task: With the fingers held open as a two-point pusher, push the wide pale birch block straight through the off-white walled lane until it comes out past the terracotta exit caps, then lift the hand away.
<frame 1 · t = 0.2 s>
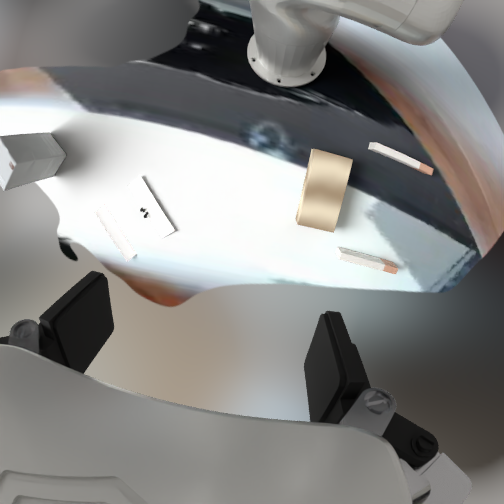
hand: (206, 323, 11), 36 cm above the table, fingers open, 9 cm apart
walled lane: (383, 208, 44), on the table
skincare box: (53, 153, 43), on the table
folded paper: (136, 217, 48), on the table
birch block: (320, 188, 43), on the table
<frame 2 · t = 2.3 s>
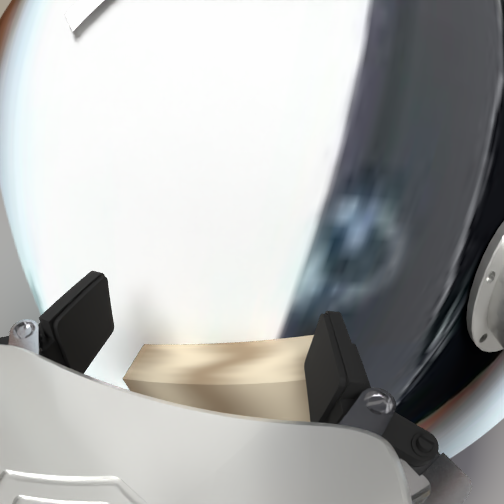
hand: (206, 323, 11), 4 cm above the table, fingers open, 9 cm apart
birch block: (232, 371, 18), on the table
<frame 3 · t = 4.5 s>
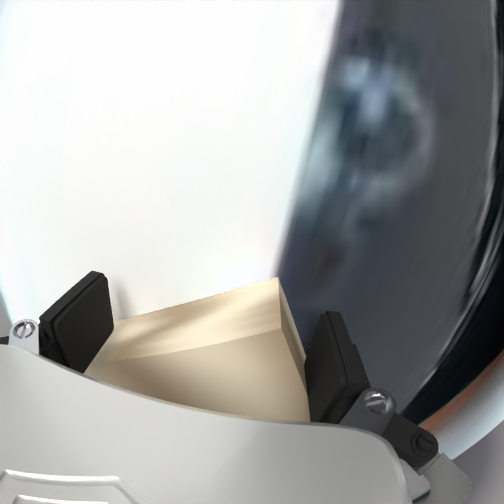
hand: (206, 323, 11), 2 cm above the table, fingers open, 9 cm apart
birch block: (188, 350, 14), on the table
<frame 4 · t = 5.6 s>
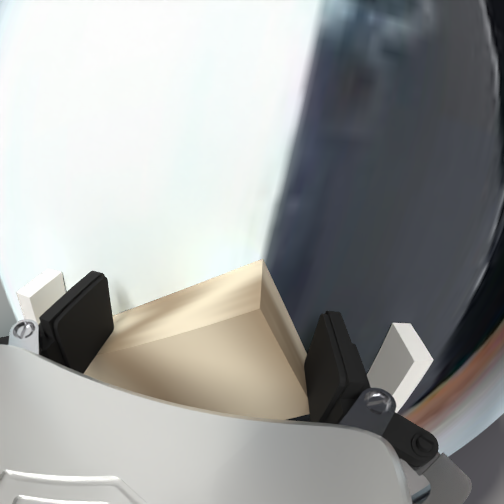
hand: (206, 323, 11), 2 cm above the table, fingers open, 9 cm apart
walled lane: (210, 385, 15), on the table
birch block: (182, 343, 14), on the table
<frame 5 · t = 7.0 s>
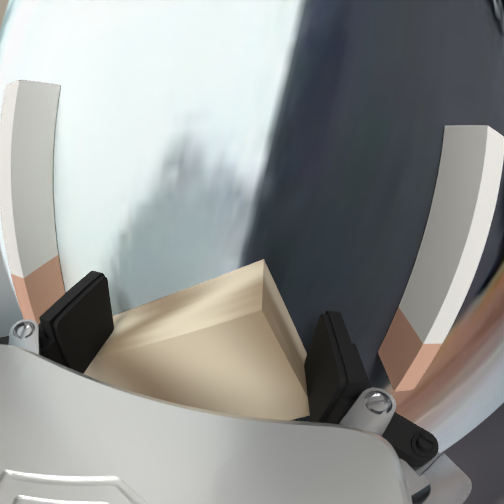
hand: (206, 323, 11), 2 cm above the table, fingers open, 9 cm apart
walled lane: (221, 218, 11), on the table
birch block: (182, 344, 14), on the table, touching gripper
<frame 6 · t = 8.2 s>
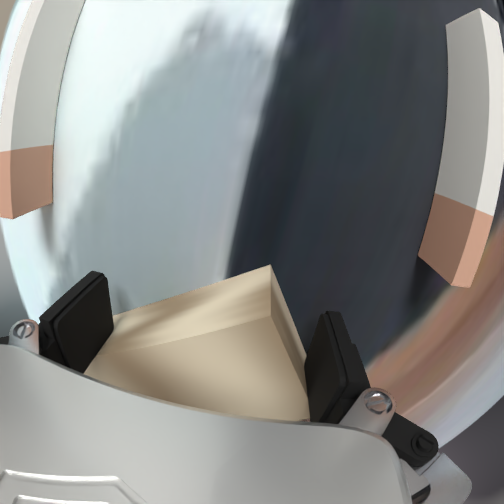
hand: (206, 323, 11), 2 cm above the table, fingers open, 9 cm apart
walled lane: (240, 74, 9), on the table
birch block: (184, 344, 14), on the table
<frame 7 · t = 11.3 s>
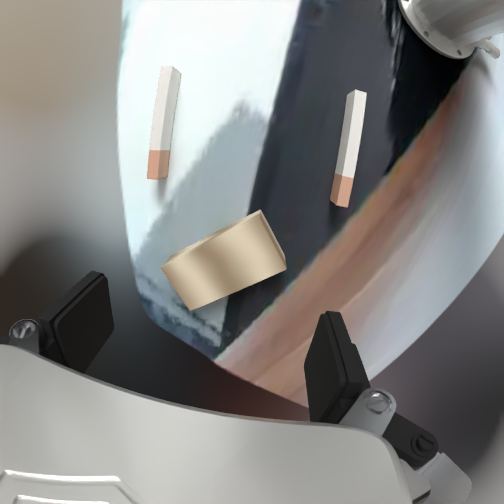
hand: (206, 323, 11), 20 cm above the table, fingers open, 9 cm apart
walled lane: (255, 130, 26), on the table
birch block: (226, 254, 32), on the table
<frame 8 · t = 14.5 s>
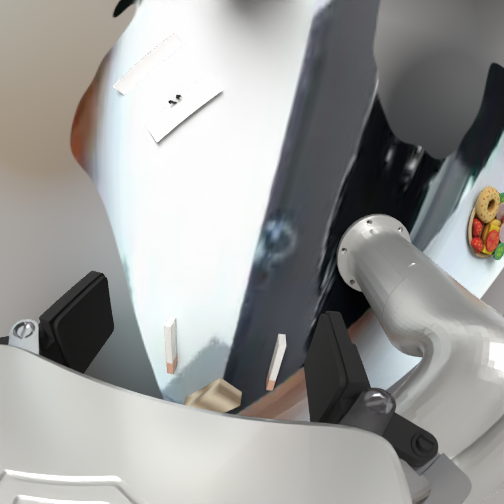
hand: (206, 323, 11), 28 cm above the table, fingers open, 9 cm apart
walled lane: (223, 351, 48), on the table
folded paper: (168, 87, 32), on the table
toy food set: (487, 222, 36), on the table
birch block: (212, 394, 53), on the table
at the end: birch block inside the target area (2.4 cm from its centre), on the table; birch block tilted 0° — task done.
